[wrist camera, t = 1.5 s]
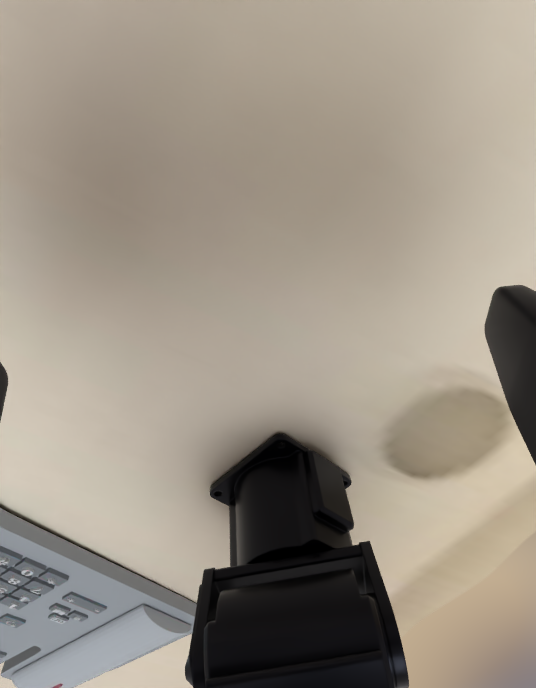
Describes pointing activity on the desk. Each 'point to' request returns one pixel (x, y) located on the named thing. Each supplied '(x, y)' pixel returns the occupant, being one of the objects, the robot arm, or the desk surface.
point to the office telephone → (75, 610)
